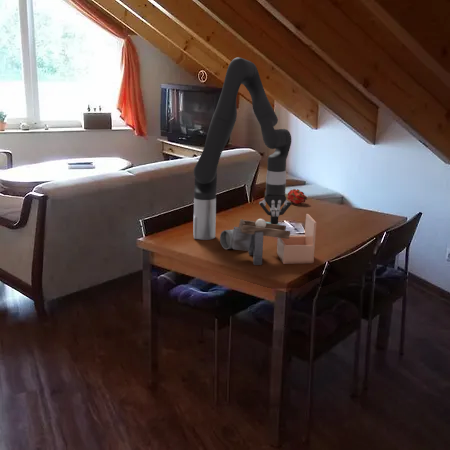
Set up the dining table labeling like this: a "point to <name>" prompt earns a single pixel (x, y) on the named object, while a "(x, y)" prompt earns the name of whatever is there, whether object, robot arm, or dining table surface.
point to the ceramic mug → (226, 239)
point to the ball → (260, 223)
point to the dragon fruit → (296, 196)
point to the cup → (298, 245)
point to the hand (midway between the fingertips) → (274, 225)
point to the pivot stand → (256, 247)
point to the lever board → (246, 230)
